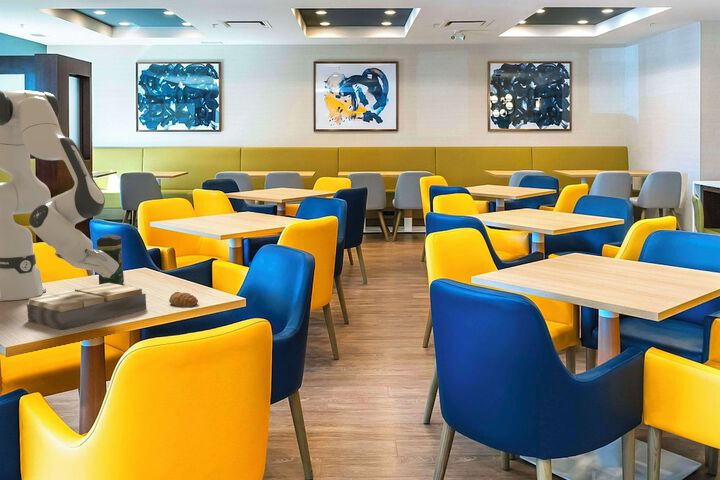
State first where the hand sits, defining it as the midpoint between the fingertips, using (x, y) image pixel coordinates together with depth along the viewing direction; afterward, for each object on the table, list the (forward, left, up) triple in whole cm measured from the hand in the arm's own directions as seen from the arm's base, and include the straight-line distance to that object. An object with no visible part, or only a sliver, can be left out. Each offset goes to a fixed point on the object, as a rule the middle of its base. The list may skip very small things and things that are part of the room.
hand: (108, 275), depth 213 cm
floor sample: (0, -8, -11) cm, 13 cm away
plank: (0, 0, -6) cm, 6 cm away
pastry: (+14, +18, -11) cm, 25 cm away
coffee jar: (-32, +22, -11) cm, 40 cm away
